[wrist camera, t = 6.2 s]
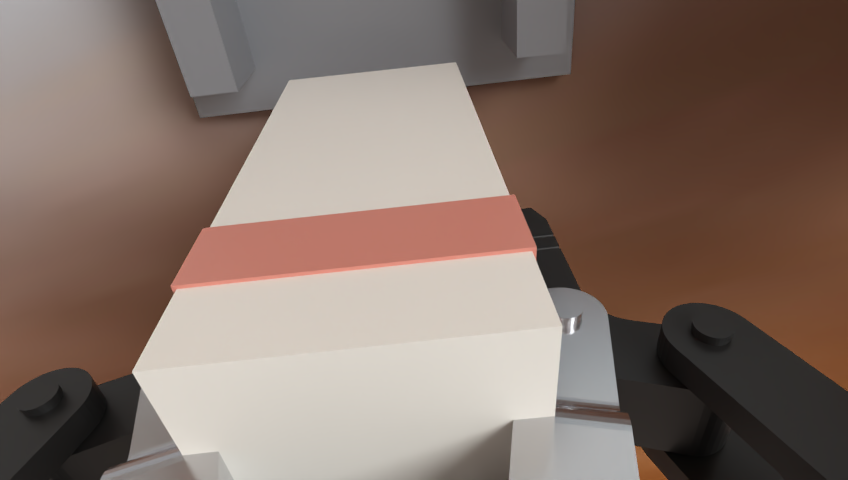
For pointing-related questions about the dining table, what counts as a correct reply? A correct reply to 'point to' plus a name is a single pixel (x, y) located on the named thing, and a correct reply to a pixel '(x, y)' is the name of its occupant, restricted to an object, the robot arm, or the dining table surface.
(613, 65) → the dining table surface
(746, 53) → the dining table surface
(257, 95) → the grey holder
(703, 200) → the dining table surface
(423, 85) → the white banded brick
